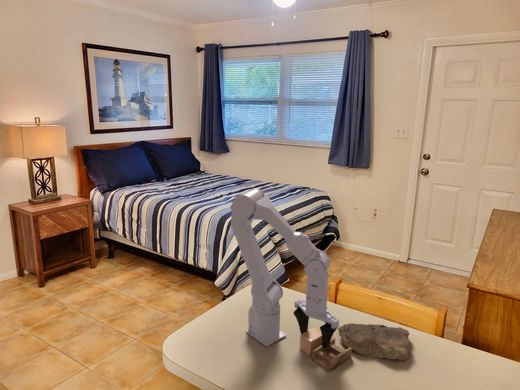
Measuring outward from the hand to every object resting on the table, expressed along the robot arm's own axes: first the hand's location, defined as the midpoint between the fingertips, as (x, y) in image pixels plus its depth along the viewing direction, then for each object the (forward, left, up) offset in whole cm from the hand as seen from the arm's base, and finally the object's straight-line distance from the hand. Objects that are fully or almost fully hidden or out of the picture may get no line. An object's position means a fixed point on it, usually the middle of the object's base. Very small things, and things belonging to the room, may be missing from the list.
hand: (314, 339), depth 107 cm
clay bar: (0, 0, -3) cm, 3 cm away
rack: (+6, 0, -2) cm, 7 cm away
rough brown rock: (+10, +14, -3) cm, 18 cm away
